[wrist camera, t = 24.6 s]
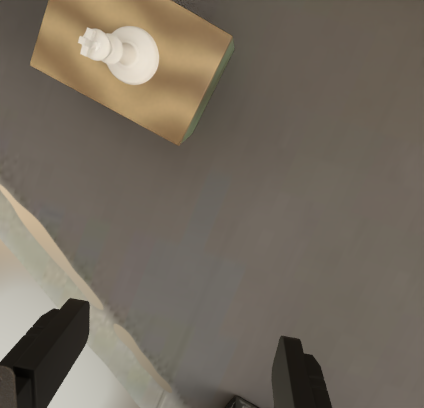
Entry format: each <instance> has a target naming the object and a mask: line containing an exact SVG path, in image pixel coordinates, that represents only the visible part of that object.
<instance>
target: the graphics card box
mask: <svg viewBox="0 0 424 408" xmlns="http://www.w3.org/2000/svg"><path fill="white" fill-rule="evenodd" d="M225 408H257V407H256V406H254V405H252V404H250V403H248V402H247V401H245V400H243V399H242V398H240V397H238V396H236V397H234V398H233V399H232V400H231V402H230V403H229V404H228V405H227V406H226V407H225Z"/></svg>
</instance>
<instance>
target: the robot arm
mask: <svg viewBox="0 0 424 408" xmlns="http://www.w3.org/2000/svg"><path fill="white" fill-rule="evenodd" d="M89 310H90V305H89V302H88V301H84V300H78V299H72V298H70V299H68V300H67V302H66V303H65V304H64V305H63V306H62V308H61V309H60V310H59V309H52V310H50V311H49V312H47V313H46V314H44V315H42V316H41V317H40V318H39V319H38V320H37V321H36V323H35V324H34V325H33V327H31V328H30V329H29V330H28V332H27V333H26V335H24V336H23V337H22V338H21V339H20V340H19V342H18V343H17V344H16V345H15V346H14V347H13V348H12V349H11V351H10V352H9V353H8V354H7V355H6V356H5V357H4V358H3V359H2V361H1V362H0V408H47V406H48V405H49V403H50V401H51V400H52V398H53V396H54V395H55V393H56V392H57V390H58V388H59V387H60V385H61V384H62V382H63V380H64V379H65V377H66V376H67V374H68V372H69V371H70V369H71V367H72V365H73V364H74V363H75V361H76V359H77V358H78V356H79V355H80V353H81V351H82V350H83V348H84V346H85V344H86V342H87V339H88V335H89ZM272 389H273V398H274V408H332V405H331V402H330V398H329V395H328V391H327V388H326V384H325V381H324V377H323V374H322V370H321V367H320V365H319V364H318V362H317V361H316V359H315V358H314V357H313V355H310V354H304V353H303V348H302V344H301V341H300V339H297V338H292V337H286V336H281V337H280V339H279V343H278V347H277V351H276V354H275V358H274V362H273V367H272Z"/></svg>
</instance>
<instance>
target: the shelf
mask: <svg viewBox="0 0 424 408" xmlns="http://www.w3.org/2000/svg"><path fill="white" fill-rule="evenodd" d="M124 26H135V27H139V28H141V29H143V30H145V31H146V32H148V33H149V34H150V35H151V36H152V38H153V39H154V41H155V43H156V45H157V48H158V52H159V64H158V68H157V70H156V72H155V74H154V75H153V77H152V78H151V79H150V80H148V81H147V82H145V83H143V84H139V85H130V84H126V83H124V82H122V81H120V80H119V79H117V78H116V77H115V76H114V75H113V74H112V73H111V71H110V70H109V68H108V66H107V64H106V63H104V62H102V61H95V60H92V59H90V58H89V57H86V56H84V55H82V54H80V52H81V48H82V44H80V43H78V40H79V37H80V36H82V37H83V35H84V34H85V32H86V29H87V27H88V28H90V29H99V30H101V31H103V32H104V33H105V34H106V33H110V34H112V33H113V32H114V31H115V30H117V29H118V28H120V27H124ZM234 49H235V48H234V43H233V37H232V35H230V34H228V33H226V32H225V31H223V30H221V29H220V28H218V27H216V26H214V25H213V24H211V23H209V22H208V21H206V20H204V19H202V18H201V17H199V16H197V15H195V14H194V13H192V12H190V11H189V10H187V9H185V8H183V7H182V6H180V5H178V4H177V3H175V2H173V1H171V0H48V4H47V7H46V11H45V14H44V18H43V21H42V25H41V28H40V31H39V35H38V38H37V42H36V45H35V49H34V52H33V55H32V59H31V62H30V66H32V67H34V68H36V69H38V70H40V71H41V72H43V73H45V74H47V75H49V76H51V77H53V78H54V79H56V80H58V81H60V82H62V83H64V84H65V85H67V86H69V87H71V88H73V89H75V90H77V91H78V92H80V93H82V94H84V95H86V96H88V97H89V98H91V99H93V100H95V101H97V102H99V103H100V104H102V105H104V106H106V107H108V108H110V109H112V110H113V111H115V112H117V113H119V114H121V115H123V116H124V117H126V118H128V119H130V120H132V121H134V122H135V123H137V124H139V125H141V126H143V127H145V128H147V129H148V130H150V131H152V132H154V133H156V134H158V135H159V136H161V137H163V138H165V139H167V140H169V141H171V142H172V143H174V144H176V145H178V146H179V145H180V144H181V143H182V142H183V141H185V140H186V139H187V138H188V137H189V136H191V135H192V133H193V131H194V129H195V127H196V125H197V123H198V121H199V119H200V117H201V115H202V113H203V111H204V109H205V107H206V105H207V103H208V101H209V99H210V97H211V95H212V93H213V91H214V89H215V87H216V85H217V83H218V81H219V79H220V77H221V75H222V73H223V71H224V69H225V67H226V65H227V63H228V61H229V59H230V57H231V55H232V53H233V51H234Z"/></svg>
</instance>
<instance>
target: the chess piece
mask: <svg viewBox="0 0 424 408" xmlns="http://www.w3.org/2000/svg"><path fill="white" fill-rule="evenodd" d="M78 43H80V44H82V48H81V52H80V54H82V55H84V56H86V57H89V58H90V59H92V60H95V61H102V62H104V63H106V64H107V66H108V68H109V70H110V71H111V73H112V74H113V75H114V76H115V77H116V78H117V79H119V80H120V81H122V82H124V83H126V84H130V85H139V84H143V83H145V82H147V81H148V80H150V79H151V78H152V77H153V75H154V74H155V72H156V70H157V68H158V64H159V52H158V48H157V45H156V43H155V41H154V39H153V38H152V36H151V35H150V34H149V33H148V32H146V31H145V30H143V29H141V28H139V27H135V26H124V27H120V28H118V29H117V30H115V31H114V32H113V33H112V34H110V33H106V34H105V33H104V32H103V31H101V30H99V29H90V28H88V27H87V29H86V32H85V34H84V35H83V37H82V36H80V37H79V40H78Z"/></svg>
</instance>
